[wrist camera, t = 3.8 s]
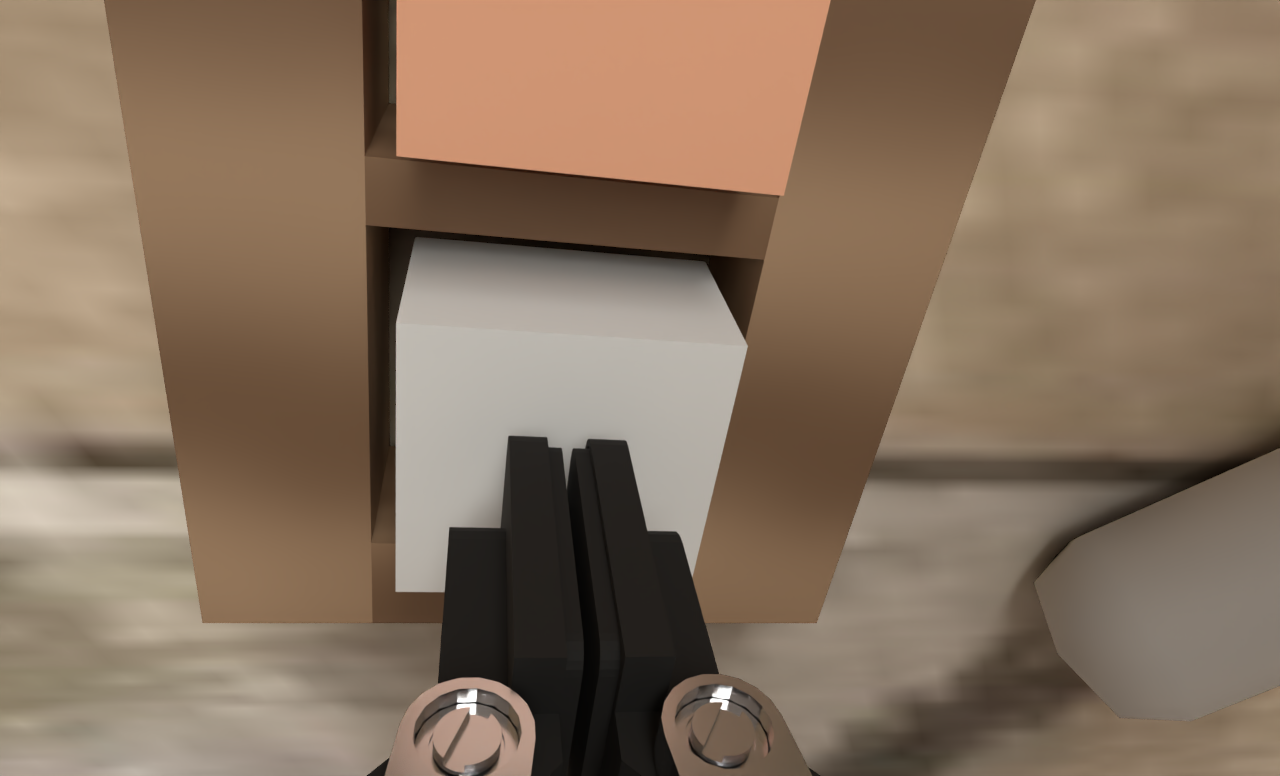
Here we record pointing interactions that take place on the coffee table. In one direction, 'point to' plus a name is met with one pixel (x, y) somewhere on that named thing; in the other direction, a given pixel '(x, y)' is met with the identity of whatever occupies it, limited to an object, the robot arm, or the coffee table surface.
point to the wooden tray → (527, 209)
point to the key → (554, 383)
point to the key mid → (610, 86)
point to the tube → (1176, 599)
